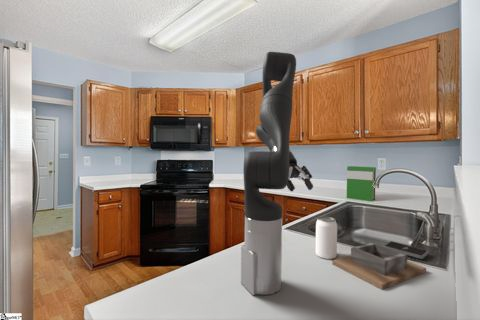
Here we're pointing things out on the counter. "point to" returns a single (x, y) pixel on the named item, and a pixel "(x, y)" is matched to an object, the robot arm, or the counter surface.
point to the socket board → (379, 265)
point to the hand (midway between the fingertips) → (302, 189)
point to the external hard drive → (408, 250)
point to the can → (326, 237)
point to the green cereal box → (361, 183)
